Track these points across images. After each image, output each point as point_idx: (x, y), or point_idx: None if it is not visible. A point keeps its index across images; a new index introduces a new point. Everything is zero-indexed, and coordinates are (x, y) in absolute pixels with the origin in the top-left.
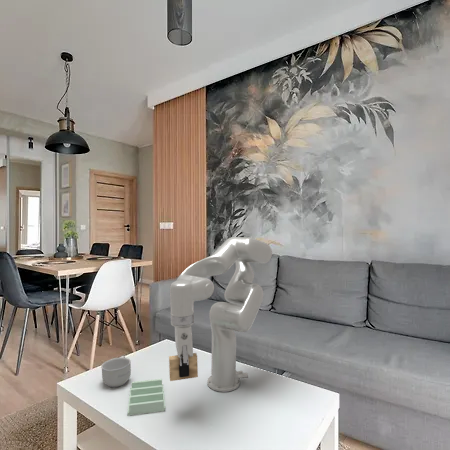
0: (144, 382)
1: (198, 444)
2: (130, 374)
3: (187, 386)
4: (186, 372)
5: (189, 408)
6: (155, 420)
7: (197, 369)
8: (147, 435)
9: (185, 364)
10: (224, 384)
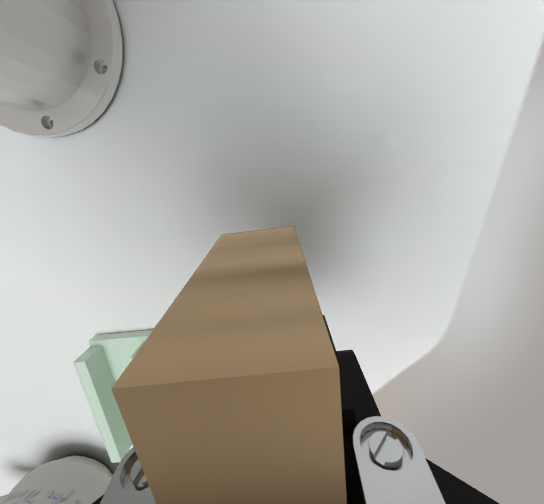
0: (109, 420)
1: (485, 199)
2: (50, 469)
3: (83, 237)
4: (357, 365)
5: (254, 230)
6: None
7: (300, 248)
8: (390, 363)
9: (440, 485)
10: (79, 23)
